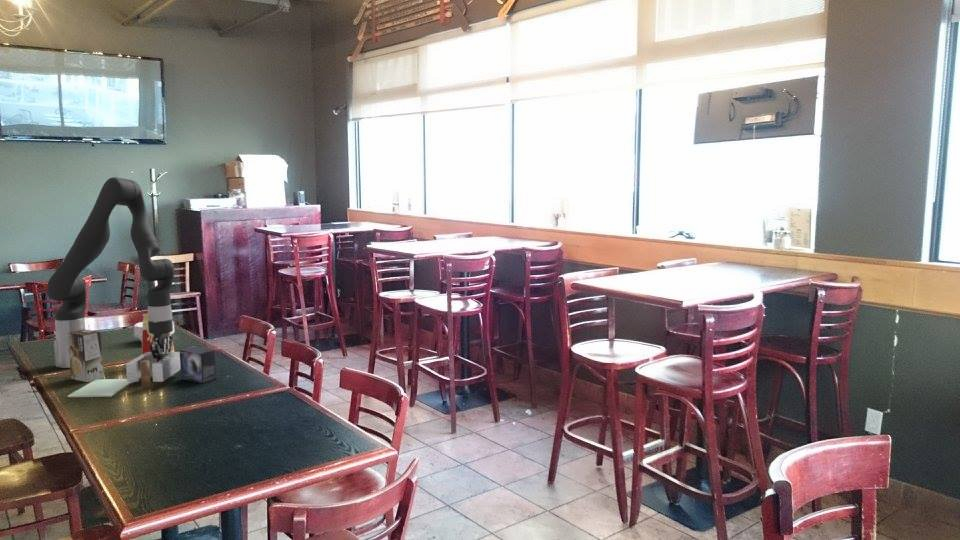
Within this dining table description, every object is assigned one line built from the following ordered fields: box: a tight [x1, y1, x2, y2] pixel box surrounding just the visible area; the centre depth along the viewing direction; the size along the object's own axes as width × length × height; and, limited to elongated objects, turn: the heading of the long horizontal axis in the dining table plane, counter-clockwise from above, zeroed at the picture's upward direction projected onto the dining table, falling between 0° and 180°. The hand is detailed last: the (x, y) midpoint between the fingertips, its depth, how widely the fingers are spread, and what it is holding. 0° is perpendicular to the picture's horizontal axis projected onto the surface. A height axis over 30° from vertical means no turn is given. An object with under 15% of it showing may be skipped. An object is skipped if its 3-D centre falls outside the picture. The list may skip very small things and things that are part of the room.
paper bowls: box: [133, 320, 175, 343], centre depth 291 cm, size 15×15×8 cm
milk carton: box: [141, 313, 176, 355], centre depth 254 cm, size 9×9×20 cm
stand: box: [140, 360, 152, 391], centre depth 225 cm, size 3×3×9 cm
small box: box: [178, 345, 218, 384], centre depth 235 cm, size 11×6×10 cm, turn 62°
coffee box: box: [67, 328, 105, 383], centre depth 236 cm, size 9×6×16 cm
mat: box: [67, 378, 134, 398], centre depth 226 cm, size 13×18×1 cm
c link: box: [125, 351, 181, 383], centre depth 232 cm, size 15×11×6 cm
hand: (162, 368), depth 239 cm, fingers closed on c link
